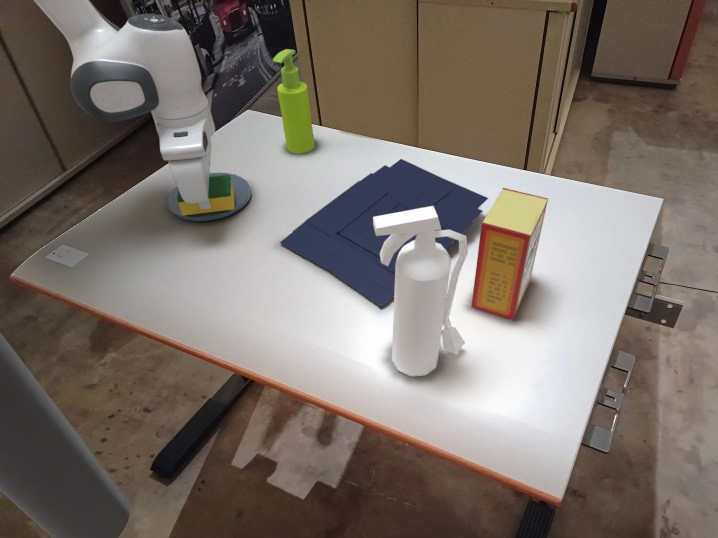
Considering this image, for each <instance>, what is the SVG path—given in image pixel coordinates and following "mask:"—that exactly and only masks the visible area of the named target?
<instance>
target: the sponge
mask: <svg viewBox="0 0 718 538" xmlns="http://www.w3.org/2000/svg"><path fill="white" fill-rule="evenodd" d="M208 196H209V199H210V202H211V206H210V209H204V210H202V209H200V207H199V204H198V203H194V204H187V203H186V202H185V201H184V200H183V198H182V196H181V194H180V192H179V190H178V195H177V201H178V204H179V206H180V209H181V212H182V215H183V216H184V215H193V214H201V213H209V212H217V211H225V210H233V209H234V188H233V184H232V180H231V176H230V175H222V176H214V177H209V189H208Z"/></svg>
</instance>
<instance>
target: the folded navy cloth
mask: <svg viewBox="0 0 718 538" xmlns="http://www.w3.org/2000/svg"><path fill="white" fill-rule="evenodd" d="M487 200H489V197H487V196H485V195H482V194H480V193H477V192H475V191H473V190H471V189H469V188H467V187H464V186H461V185H460V184H457V183H455V182H453V181H450V180H448V179H446V178H444V177H442V176H440V175H437V174H435V173H433V172H430V171H429V170H426V169H424V168H422V167H420V166H417V165H416V164H413V163H412V162H409V161H407V160H404V159H402V158H400V159H399V160H397V161H396V162H395V163H394V164H392V165H390V166H388V165H386V164H385V165H383V166H381V167H380V168H379V169H377V170H376V171H374V172H373V173H372V172H370V173H369V174H368V175H366V176H365V177H363V178H362V179H361V180H358V181H357V182H355V183H354V184H352V186H350V187H349V188H347V189H346V190H345V191H343V192H342V193H341V194H339V195H338V196H337V197H335V198H334V199H333V200H331V201H329V202H328V203H327V204H326V205H324V206H323V207H322V208H320V209H319V210H318V211H316V212H315V213H313V214H312V215H311V216H310V217H308V218H307V219H305V221H303V222H302V223H301V224H300V225H299V226H298V227H296V228H295V229H294V230H292V232H291V233H290V234H288V235H287V236H286V237H285V238H283V239H282V240H281V241H280V242H279V244H280V245H282V246H284V247H286V248H288V249H290V250H292V251H293V252H295V253H297V254H298V255H300V256H301V257H303V258H305V259H307V260H309V261H310V262H312V263H314V264H316V265H317V266H319V267H321V268H323V269H324V270H327V271H328V272H329V273H332V275H334V276H336V277H337V278H338V279H340V280H341V281H343V282H344V283H346V284H347V285H349V287H351V288H353V289H354V290H356V291H357V292H358V293H360V294H361V295H363V296H364V297H365V298H367V299H369V300H370V301H372V302H373V303H375V305H377V306H379V307H380V308H382V307H384V306H385V305H386V304H388V303H389V301H391V300H392V299H394V291H395V266H396V261H397V257H398V254H399V252H400V250H401V249H402V247H403V246H405V245H406V244H408V243H410V242H411V241H413V240H415V239H416V235H417V234H416V235H414V236H413V237H412V238H410V239H409V240H407V241H406V242H405V243H404V244H403V245H402V246H401V247H400V248H399V249H398V250H397V251H396V252H395V253H394V254H393V257H392V259H391V261H390V263H389V265H388V266H386V265H384V264H382V263H381V259H380V251H381V249H382V246H383V244H384V242H385V241H386V240H387V239H388V238H389V236H390V235H380V236H376V233H375V229H374V226H373V217H375V216H381V215H386V214H392V213H397V212H403V211H408V210H413V209H419V208H424V207H430V206H434V208H435V211H436V213H437V216H438V219H439V223H440V226H441V230H452V231H455V232H457V233H460V234H462V235H464V233H465V232H466V231H467V230H468V229H469V228H470V227H471V226H473V224H474V223H475V220H476V219H477V218H478V217H479V216H480V215H481V214H482V213H483V212H484V210H483V209H480V207H481V206H482V205H483V204H484V203H485V202H486V201H487ZM434 231H439V230H434ZM455 241H457V240H456V239H453V238H450V237H437V238H435V242H436V243H439V244H441V245H442V246H443V247H444V249H445V250H447V249H448V248H449V247H450V246H451V245H452V244H453V243H454V242H455Z"/></svg>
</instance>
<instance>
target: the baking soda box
mask: <svg viewBox="0 0 718 538" xmlns="http://www.w3.org/2000/svg"><path fill="white" fill-rule="evenodd" d="M548 202H549V198H547V197H543V196H539V195H535V194H532V193H527V192H522V191H518V190H515V189H511V188H506V187H502V189H500V192H499V194H498V196H497V197H496V199H495V201H494V203H493V204H492V206H490V209H489V211H488V212H487V214H486V216H485V218H484V220H483V221H482V222H481V225H480V235H479V240H478V241H479V242H478V250H477V258H476V267H475V274H474V281H473V282H474V283H473V289H472V298H471V299H472V300H471V305H470V308H472V309H475V310H478V311H481V312H485V313H488V314H492V315H495V316H497V317H501V318H504V319H507V320H510V321H514V318H515V317H516V315H517V312H518V310H519V307H520V305H521V303H522V301H523V298H524V296H525V294H526V291H527V289H528V287H529V285H530V283H531V278H532V275H533V269H534V265H535V260H536V257H537V251H538V247H539V243H540V239H541V233H542V228H543V224H544V220H545V215H546V210H547V206H548Z"/></svg>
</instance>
